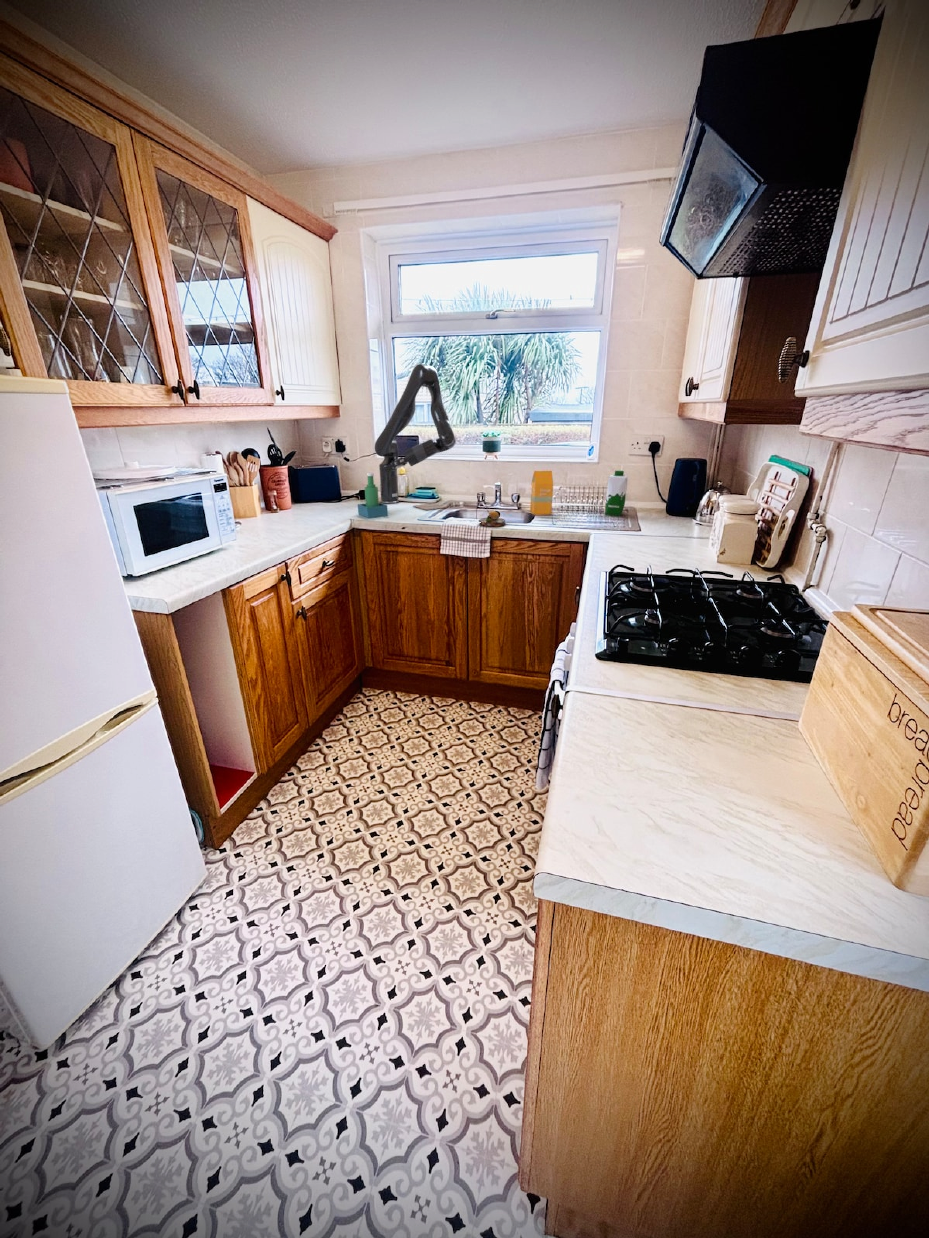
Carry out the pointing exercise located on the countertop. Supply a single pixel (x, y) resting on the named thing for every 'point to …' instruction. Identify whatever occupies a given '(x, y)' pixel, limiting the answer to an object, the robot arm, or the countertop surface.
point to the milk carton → (616, 493)
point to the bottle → (371, 492)
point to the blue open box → (372, 511)
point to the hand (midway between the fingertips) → (385, 469)
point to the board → (430, 506)
